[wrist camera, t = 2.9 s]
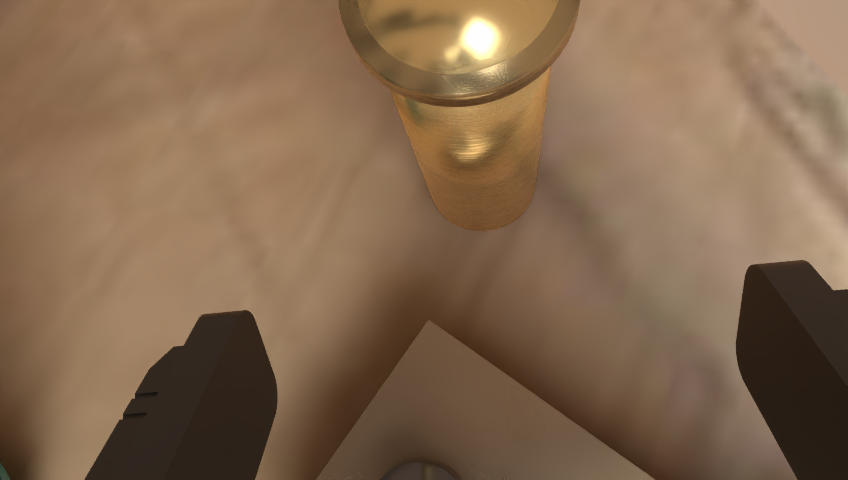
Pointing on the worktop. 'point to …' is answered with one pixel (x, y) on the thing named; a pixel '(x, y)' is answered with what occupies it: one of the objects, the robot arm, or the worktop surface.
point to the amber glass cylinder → (467, 92)
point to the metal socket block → (466, 426)
